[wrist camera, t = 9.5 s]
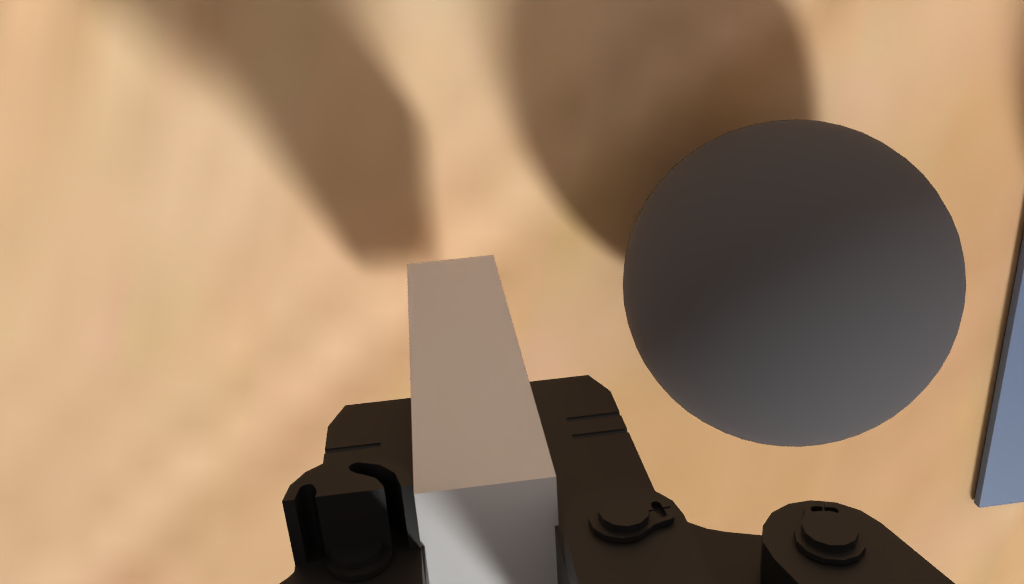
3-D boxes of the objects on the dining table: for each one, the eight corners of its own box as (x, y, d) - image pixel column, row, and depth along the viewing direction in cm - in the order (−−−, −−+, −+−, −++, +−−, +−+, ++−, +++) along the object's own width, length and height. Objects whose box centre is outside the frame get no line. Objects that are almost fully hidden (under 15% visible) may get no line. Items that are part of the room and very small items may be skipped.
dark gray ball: (1008, 511, 13) (923, 350, 18) (1021, 137, 11) (921, 75, 16) (630, 517, 14) (650, 366, 19) (584, 185, 12) (619, 115, 17)
